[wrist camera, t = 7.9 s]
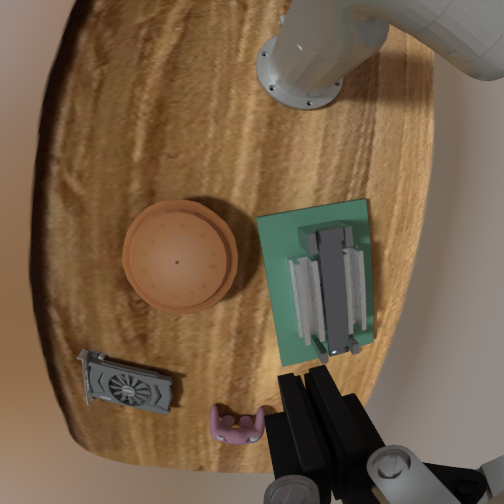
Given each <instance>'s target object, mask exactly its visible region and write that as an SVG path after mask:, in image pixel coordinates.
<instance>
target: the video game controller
mask: <svg viewBox="0 0 504 504" xmlns="http://www.w3.org/2000/svg"><path fill="white" fill-rule="evenodd" d="M264 416H265V411H264V408H263V407H260V408H259V409H258V412H257V415H256V419H255V423H253V421H252V420H251V418H250V417H249V416H243V417H241V418H240V420H239V425H240V427H241V428H231V427H232V426H233V424H234V421H235V420H234V418H233V417H232V416H230V415H226V416H224V417H223V419H222V420H221V421H219V413H218V408H217V405H213V406H212V408H211V413H210V433H211V436H212V437H213V438H214V439H216V440H220V441H222V442H225V443H229V444H248V443H253V442H256V441H258V440H260V438H261V437H262V436H263V433H264V428H265V422H264Z"/></svg>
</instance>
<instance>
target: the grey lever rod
mask: <svg viewBox="0 0 504 504" xmlns="http://www.w3.org/2000/svg"><path fill="white" fill-rule="evenodd" d="M316 235H317V242H318V250H319V259H320V267H321V276H322V286H323V296H324V306H325V317H326V329H327V343H328V353H329V356H330V357H331V356H335V355H338V354H342V353H345V352H349V340H348V315H347V298H346V283H345V271H344V259H343V249H342V240H344V231H343V227H341V226H339V225H336V226H331V227H326V228H320V229H316Z"/></svg>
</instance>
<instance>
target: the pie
mask: <svg viewBox="0 0 504 504" xmlns="http://www.w3.org/2000/svg"><path fill="white" fill-rule="evenodd" d="M238 256H239V255H238V250H237V245H236V239H235V237H234V235H233V233H232V231H231V229H230V227H229V225H228V224H227V222H225V221H224V220H223V219H222V218H221V217H219V216H218V215H217V214H216V213H215V212H214V211H212V210H210V209H209V208H207V207H205V206H204V205H202V204H201V203H199V202H195V201H190V200H185V199H173V200H163V201H161V202H158V203H156V204H153V205H151V206H148V207H147V208H146V209H145V210H144V211H143V212H142V213H141V214H139V215H138V216H137V217H136V219H135V220H134V222H133V223H132V225H131V226H130V228H129V230H128V231H127V234H126V238H125V242H124V246H123V260H122V264H123V267H124V270H125V273H126V276H127V279H128V280H129V282H130V283H131V285H132V286H133V288H134V289H135V291H136V292H137V293H138V294H139V295H140V296H141V297H142V298H143V299H144V300H145V301H146V302H147V303H148V304H150V305H152V306H153V307H155V308H157V309H159V310H161V311H164V312H168V313H173V314H188V313H195V312H198V311H202V310H205V309H209V308H210V307H212V306H213V305H214V304H216V303H217V302H218V301H220V300H221V299H222V298H223V297H224V295H225V294H226V293H227V291H228V290H229V289H230V288H231V286H232V284H233V281H234V279H235V276H236V274H237V270H238Z"/></svg>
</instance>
